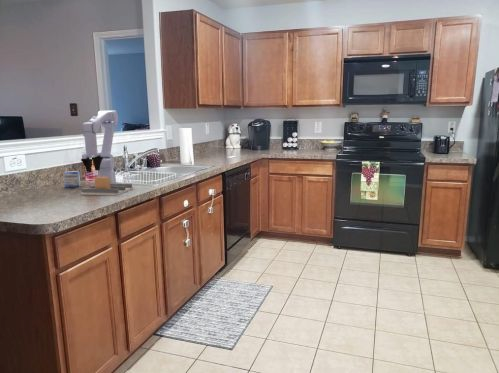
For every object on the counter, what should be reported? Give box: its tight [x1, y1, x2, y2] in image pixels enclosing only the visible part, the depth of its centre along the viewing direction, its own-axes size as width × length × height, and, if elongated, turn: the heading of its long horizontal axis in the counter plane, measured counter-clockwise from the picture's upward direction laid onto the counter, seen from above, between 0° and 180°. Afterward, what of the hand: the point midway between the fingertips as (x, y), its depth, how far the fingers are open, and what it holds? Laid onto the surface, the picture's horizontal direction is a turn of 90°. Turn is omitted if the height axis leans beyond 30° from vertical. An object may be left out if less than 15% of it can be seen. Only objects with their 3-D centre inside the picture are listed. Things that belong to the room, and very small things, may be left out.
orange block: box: [93, 176, 110, 189], centre depth 197 cm, size 4×6×7 cm, turn 79°
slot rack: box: [80, 183, 134, 196], centre depth 201 cm, size 17×20×3 cm
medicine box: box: [62, 170, 82, 188], centre depth 218 cm, size 8×4×9 cm, turn 105°
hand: (93, 171), depth 204 cm, fingers open, 7 cm apart
